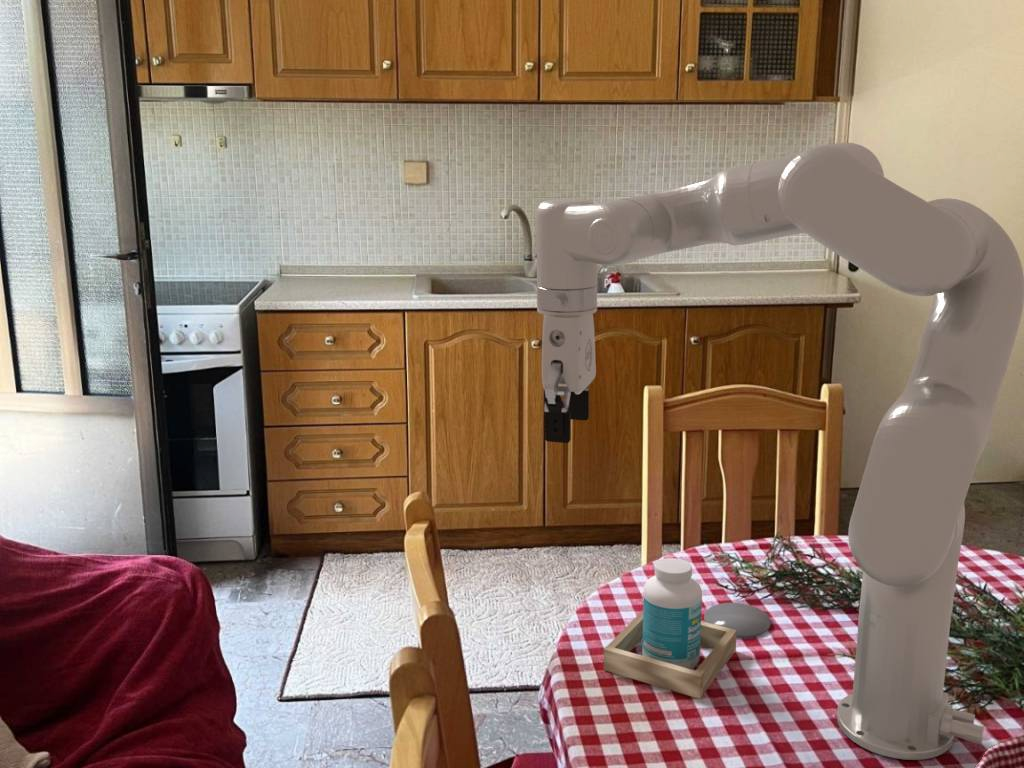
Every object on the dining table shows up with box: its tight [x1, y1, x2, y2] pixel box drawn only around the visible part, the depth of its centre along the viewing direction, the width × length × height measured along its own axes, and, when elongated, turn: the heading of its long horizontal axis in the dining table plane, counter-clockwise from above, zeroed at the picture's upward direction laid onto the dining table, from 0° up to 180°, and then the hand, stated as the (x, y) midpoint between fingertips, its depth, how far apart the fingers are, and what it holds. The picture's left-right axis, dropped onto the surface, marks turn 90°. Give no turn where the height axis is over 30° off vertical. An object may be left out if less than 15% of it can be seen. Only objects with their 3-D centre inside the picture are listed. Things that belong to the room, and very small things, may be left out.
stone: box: [703, 602, 771, 639], centre depth 140 cm, size 9×9×1 cm
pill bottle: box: [641, 557, 703, 670], centre depth 128 cm, size 8×7×14 cm
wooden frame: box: [603, 610, 738, 700], centre depth 130 cm, size 13×13×3 cm
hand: (567, 429), depth 129 cm, fingers open, 9 cm apart
